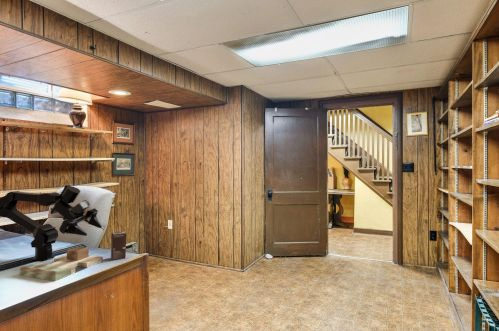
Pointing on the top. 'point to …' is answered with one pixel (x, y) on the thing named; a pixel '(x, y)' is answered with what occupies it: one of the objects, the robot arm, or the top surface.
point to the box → (118, 245)
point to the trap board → (59, 267)
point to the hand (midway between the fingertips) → (94, 231)
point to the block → (77, 253)
